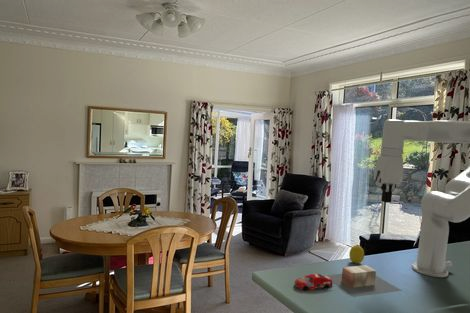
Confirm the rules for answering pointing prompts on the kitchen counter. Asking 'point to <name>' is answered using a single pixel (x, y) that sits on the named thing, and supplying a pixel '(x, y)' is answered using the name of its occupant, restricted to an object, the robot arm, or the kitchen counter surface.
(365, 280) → the wooden block
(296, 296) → the kitchen counter surface
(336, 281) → the rubber mat
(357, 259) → the lemon
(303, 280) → the race car
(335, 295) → the kitchen counter surface
